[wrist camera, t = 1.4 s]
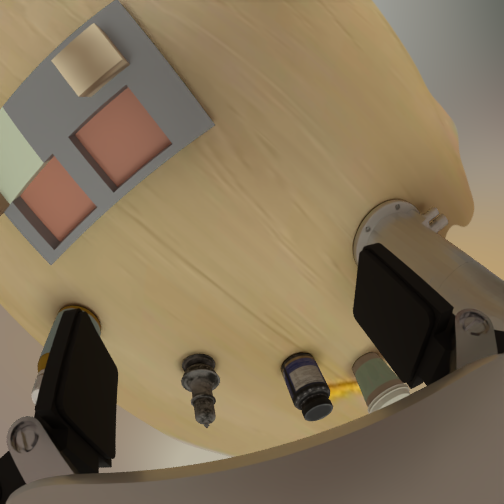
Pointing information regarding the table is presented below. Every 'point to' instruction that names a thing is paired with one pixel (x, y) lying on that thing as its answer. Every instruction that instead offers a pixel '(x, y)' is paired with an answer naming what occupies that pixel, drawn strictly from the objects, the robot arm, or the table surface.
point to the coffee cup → (378, 382)
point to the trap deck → (90, 137)
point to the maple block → (90, 61)
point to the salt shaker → (201, 386)
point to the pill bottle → (307, 386)
